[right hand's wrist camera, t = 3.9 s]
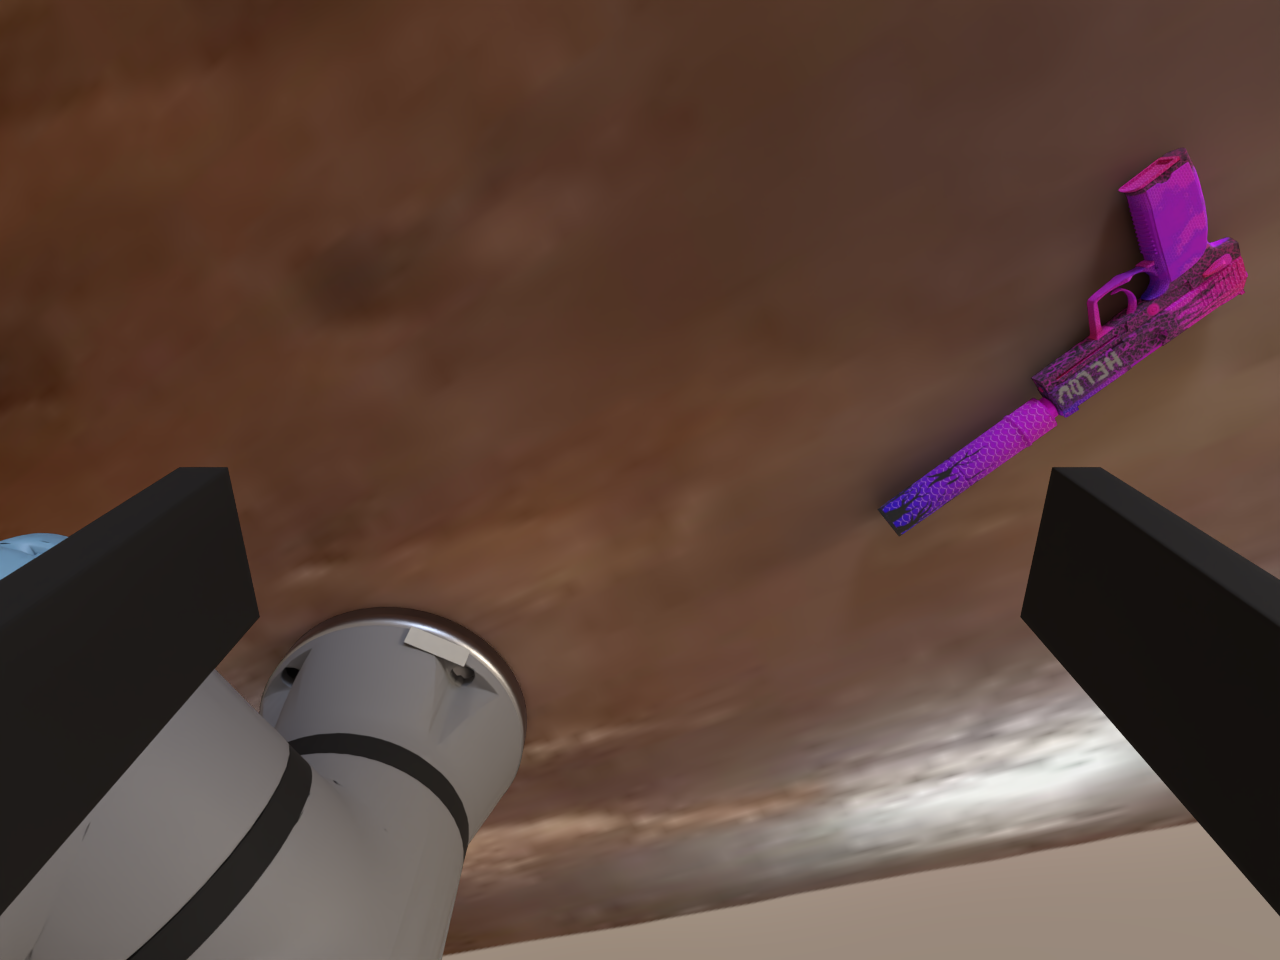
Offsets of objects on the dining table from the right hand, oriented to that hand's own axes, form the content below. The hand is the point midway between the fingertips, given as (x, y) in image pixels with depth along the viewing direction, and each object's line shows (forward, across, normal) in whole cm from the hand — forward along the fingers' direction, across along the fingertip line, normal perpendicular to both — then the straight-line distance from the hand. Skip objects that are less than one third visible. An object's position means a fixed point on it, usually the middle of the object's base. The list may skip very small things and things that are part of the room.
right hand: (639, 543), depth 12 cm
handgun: (+27, -20, +2) cm, 34 cm away
